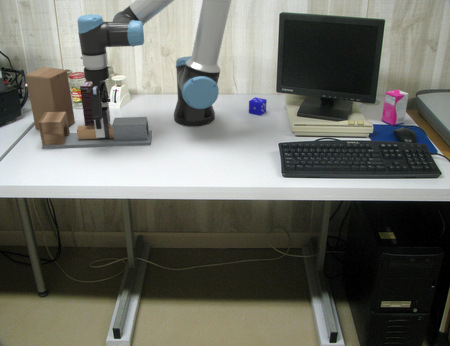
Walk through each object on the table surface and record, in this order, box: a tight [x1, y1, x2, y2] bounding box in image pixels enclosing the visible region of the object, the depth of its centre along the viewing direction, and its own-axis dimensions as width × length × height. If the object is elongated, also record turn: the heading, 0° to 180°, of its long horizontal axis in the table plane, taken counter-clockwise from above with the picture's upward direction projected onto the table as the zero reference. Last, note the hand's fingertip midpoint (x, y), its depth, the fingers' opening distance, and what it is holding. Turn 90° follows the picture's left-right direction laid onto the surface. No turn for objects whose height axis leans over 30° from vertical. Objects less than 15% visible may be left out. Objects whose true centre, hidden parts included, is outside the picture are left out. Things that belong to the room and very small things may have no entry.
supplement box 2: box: [381, 89, 409, 127], centre depth 180 cm, size 6×6×12 cm
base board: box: [41, 129, 153, 150], centre depth 169 cm, size 35×10×1 cm, turn 94°
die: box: [248, 97, 267, 116], centre depth 190 cm, size 5×5×5 cm
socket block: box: [38, 112, 71, 146], centre depth 166 cm, size 7×9×8 cm
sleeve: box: [111, 116, 150, 141], centre depth 168 cm, size 11×7×6 cm, turn 94°
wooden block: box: [25, 66, 76, 130], centre depth 175 cm, size 10×10×20 cm
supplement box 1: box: [79, 79, 94, 126], centre depth 177 cm, size 9×5×16 cm, turn 178°
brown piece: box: [76, 107, 114, 139], centre depth 166 cm, size 22×4×10 cm, turn 94°
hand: (103, 128), depth 167 cm, fingers open, 13 cm apart
